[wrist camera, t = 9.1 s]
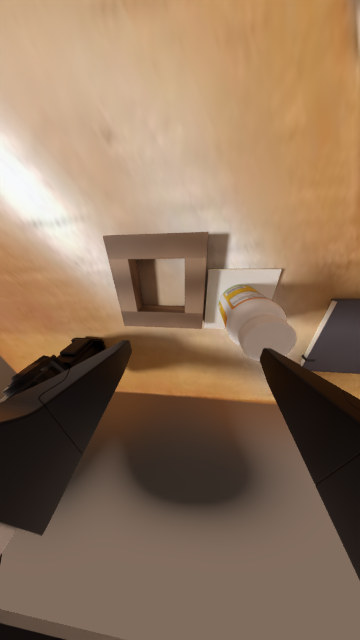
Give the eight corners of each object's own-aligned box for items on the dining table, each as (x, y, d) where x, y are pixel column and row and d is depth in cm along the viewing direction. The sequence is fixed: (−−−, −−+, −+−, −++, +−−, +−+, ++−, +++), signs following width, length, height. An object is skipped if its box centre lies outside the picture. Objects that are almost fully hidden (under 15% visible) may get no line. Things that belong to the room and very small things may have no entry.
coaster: (260, 328, 21) (262, 330, 21) (203, 326, 22) (204, 328, 22) (279, 268, 17) (281, 269, 17) (208, 269, 18) (208, 269, 18)
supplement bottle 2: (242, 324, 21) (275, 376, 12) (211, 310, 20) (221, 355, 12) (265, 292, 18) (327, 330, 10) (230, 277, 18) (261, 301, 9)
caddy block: (201, 320, 22) (201, 328, 20) (131, 318, 23) (124, 325, 21) (206, 234, 16) (208, 232, 14) (114, 237, 18) (102, 235, 15)
